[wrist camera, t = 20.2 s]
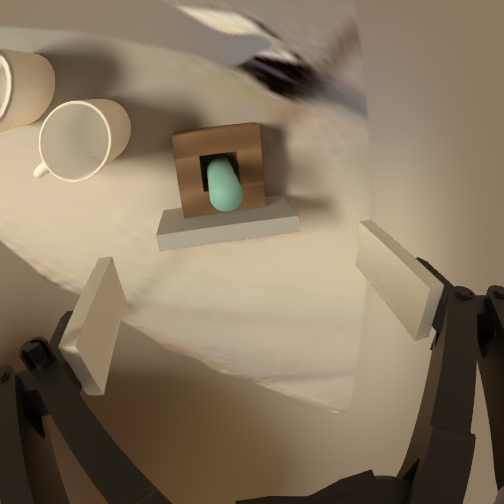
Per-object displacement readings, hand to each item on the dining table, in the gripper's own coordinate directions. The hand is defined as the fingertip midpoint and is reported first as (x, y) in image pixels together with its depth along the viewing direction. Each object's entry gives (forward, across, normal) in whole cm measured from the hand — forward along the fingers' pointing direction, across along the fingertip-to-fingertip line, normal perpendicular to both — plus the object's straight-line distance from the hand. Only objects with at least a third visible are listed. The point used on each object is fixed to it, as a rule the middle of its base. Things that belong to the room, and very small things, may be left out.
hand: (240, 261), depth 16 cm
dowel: (+26, 0, -1) cm, 27 cm away
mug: (+27, -26, +16) cm, 40 cm away
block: (+26, 0, -1) cm, 27 cm away
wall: (+26, 0, -7) cm, 27 cm away
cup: (+27, -16, +6) cm, 31 cm away
